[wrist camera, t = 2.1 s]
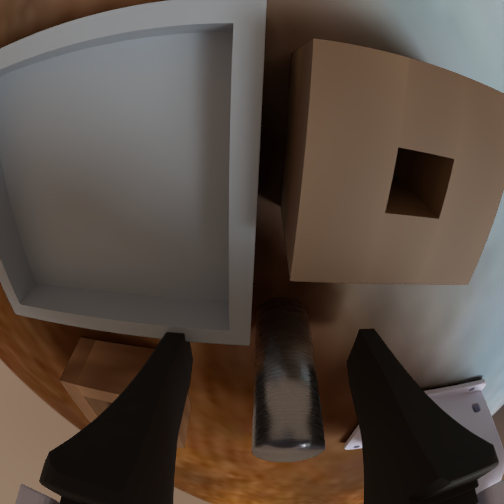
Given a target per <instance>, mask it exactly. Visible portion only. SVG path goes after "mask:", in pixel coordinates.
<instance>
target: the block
mask: <svg viewBox="0 0 504 504" xmlns="http://www.w3.org/2000/svg"><path fill="white" fill-rule="evenodd" d="M503 190H504V93H502V92H499V91H497V90H495V89H493V88H491V87H489V86H486V85H484V84H482V83H480V82H477V81H475V80H472V79H470V78H467V77H465V76H462V75H460V74H457V73H454V72H452V71H449V70H446V69H443V68H440V67H438V66H435V65H432V64H428V63H425V62H422V61H419V60H415V59H412V58H409V57H405V56H401V55H398V54H394V53H390V52H386V51H381V50H377V49H373V48H368V47H363V46H358V45H353V44H348V43H342V42H336V41H329V40H322V39H315V38H313V39H312V40H310V41H309V42H307V43H306V44H305V45H303V46H302V47H300V48H299V49H297V50H296V51H295V52H293V53H292V55H291V73H290V89H289V105H288V119H287V134H286V147H285V160H284V173H283V185H282V197H281V213H282V221H283V228H284V236H285V244H286V252H287V261H288V269H289V278H290V281H300V282H329V283H366V284H430V285H468V284H469V281H470V279H471V277H472V275H473V273H474V270H475V268H476V266H477V263H478V261H479V259H480V256H481V254H482V251H483V249H484V246H485V244H486V241H487V238H488V236H489V233H490V230H491V227H492V225H493V222H494V219H495V216H496V213H497V210H498V207H499V203H500V200H501V197H502V193H503Z"/></svg>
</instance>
